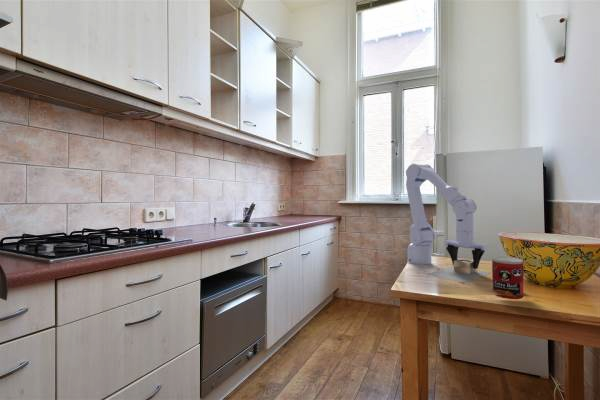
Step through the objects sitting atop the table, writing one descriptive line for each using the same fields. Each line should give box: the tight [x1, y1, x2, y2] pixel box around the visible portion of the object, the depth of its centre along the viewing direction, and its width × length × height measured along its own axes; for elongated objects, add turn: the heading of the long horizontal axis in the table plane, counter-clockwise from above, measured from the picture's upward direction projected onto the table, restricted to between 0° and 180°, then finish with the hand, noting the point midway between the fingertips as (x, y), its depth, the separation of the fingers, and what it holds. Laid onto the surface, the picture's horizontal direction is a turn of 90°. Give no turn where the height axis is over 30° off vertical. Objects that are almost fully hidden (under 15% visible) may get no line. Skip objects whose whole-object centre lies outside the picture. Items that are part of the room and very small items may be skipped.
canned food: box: [491, 256, 524, 300], centre depth 90 cm, size 8×8×11 cm
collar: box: [453, 258, 477, 274], centre depth 113 cm, size 6×6×4 cm
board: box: [426, 265, 491, 283], centre depth 110 cm, size 14×20×1 cm
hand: (465, 266), depth 113 cm, fingers open, 7 cm apart
